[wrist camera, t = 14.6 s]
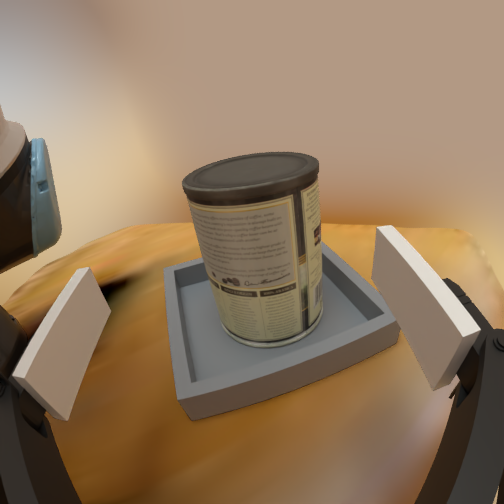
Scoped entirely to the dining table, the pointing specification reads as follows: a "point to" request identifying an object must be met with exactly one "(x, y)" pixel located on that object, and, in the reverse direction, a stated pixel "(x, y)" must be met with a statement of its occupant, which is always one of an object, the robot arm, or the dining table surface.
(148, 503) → the dining table surface
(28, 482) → the robot arm
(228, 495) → the dining table surface
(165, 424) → the dining table surface
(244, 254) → the coffee can
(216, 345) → the tray
